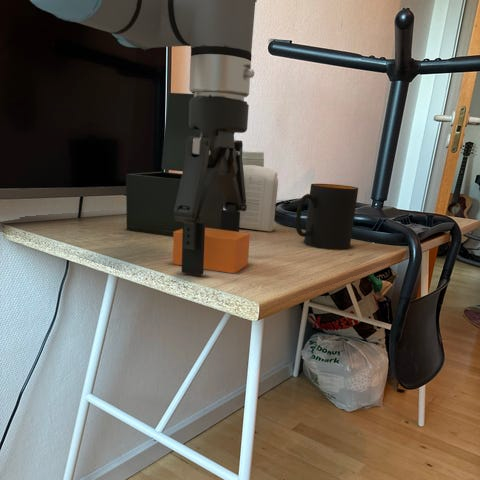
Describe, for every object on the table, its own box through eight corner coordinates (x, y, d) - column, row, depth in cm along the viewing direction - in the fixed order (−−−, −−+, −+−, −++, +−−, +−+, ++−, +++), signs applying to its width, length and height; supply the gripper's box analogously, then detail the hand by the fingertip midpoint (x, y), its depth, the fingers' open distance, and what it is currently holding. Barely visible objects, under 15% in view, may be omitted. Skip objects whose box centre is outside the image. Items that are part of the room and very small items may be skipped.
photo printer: (275, 229, 100) (281, 167, 96) (271, 232, 96) (277, 167, 92) (227, 224, 103) (231, 163, 98) (221, 227, 99) (225, 163, 94)
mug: (279, 242, 88) (284, 182, 84) (328, 239, 94) (335, 183, 91) (308, 251, 81) (316, 188, 78) (359, 247, 88) (368, 188, 84)
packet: (233, 273, 65) (236, 240, 63) (172, 264, 67) (173, 231, 66) (247, 264, 70) (250, 233, 68) (190, 256, 72) (191, 225, 71)
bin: (194, 239, 85) (197, 181, 81) (126, 229, 89) (125, 174, 85) (222, 228, 97) (225, 177, 94) (161, 220, 101) (162, 171, 97)
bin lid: (234, 95, 90) (235, 96, 91) (168, 92, 94) (170, 93, 95) (224, 175, 93) (226, 175, 94) (161, 169, 97) (163, 169, 98)
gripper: (209, 86, 49) (202, 288, 56) (273, 108, 71) (262, 250, 79) (143, 83, 51) (144, 279, 58) (225, 105, 73) (218, 245, 81)
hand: (211, 263), depth 68 cm, fingers open, 13 cm apart
